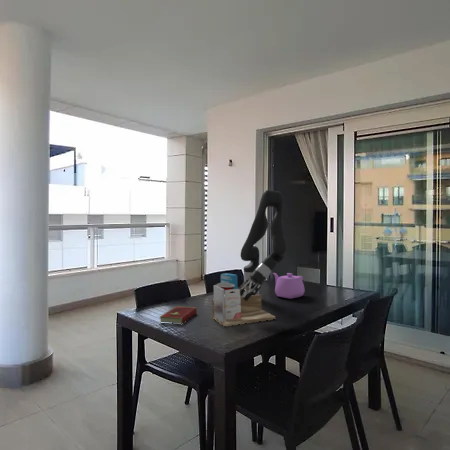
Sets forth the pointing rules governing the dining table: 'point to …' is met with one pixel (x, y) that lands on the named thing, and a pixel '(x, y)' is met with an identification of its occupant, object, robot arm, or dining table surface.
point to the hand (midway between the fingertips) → (241, 298)
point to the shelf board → (247, 312)
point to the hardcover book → (178, 314)
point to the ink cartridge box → (232, 304)
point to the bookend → (219, 303)
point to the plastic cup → (226, 286)
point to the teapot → (289, 286)
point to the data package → (229, 279)
